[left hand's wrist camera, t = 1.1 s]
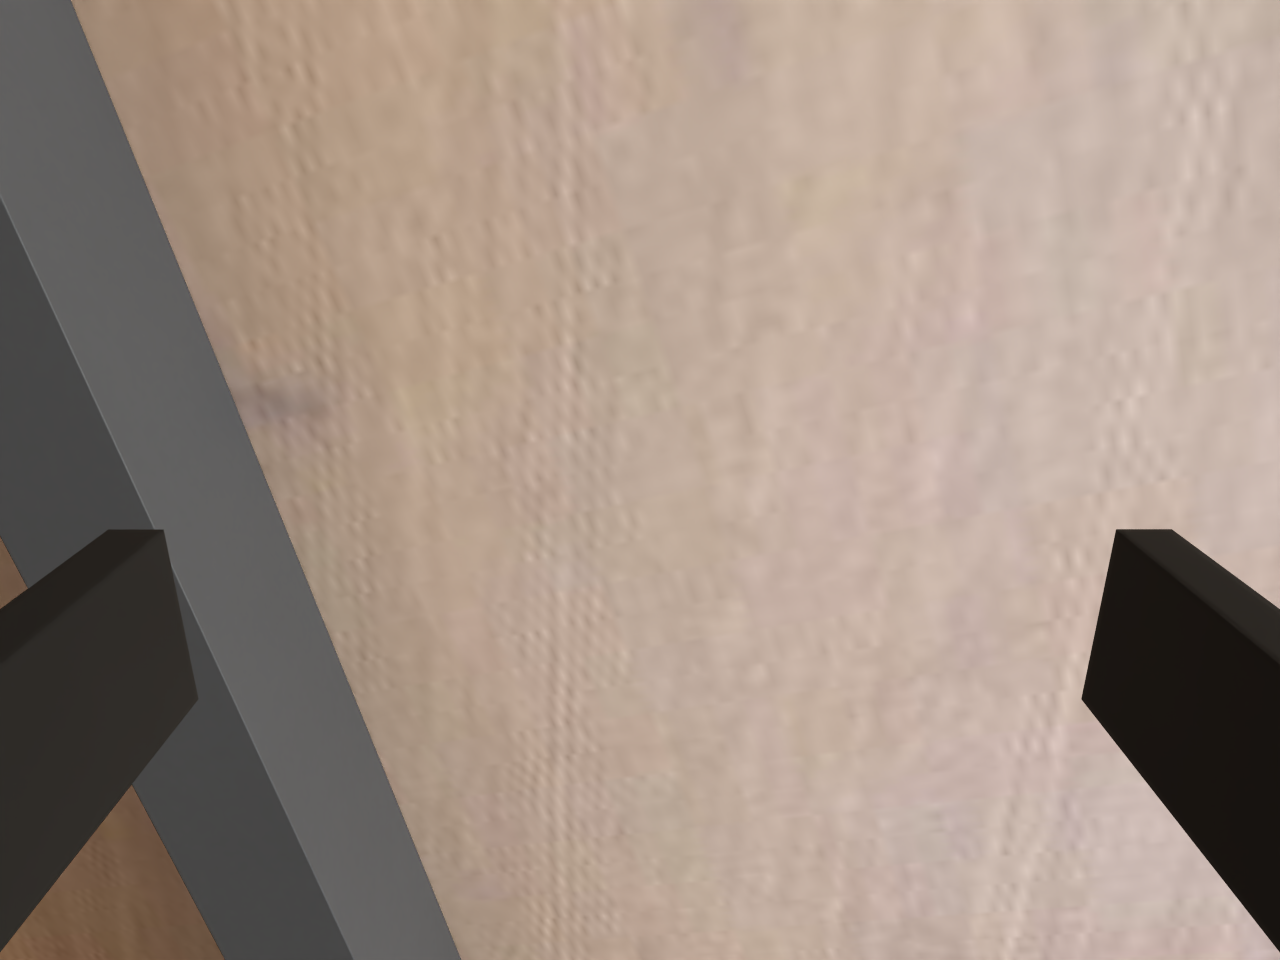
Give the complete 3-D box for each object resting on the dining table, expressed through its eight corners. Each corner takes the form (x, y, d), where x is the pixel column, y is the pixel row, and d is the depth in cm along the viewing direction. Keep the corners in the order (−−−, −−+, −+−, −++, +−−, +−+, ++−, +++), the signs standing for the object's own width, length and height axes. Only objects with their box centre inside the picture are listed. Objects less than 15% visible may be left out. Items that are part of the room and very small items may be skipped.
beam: (-211, -288, 27) (-521, -443, 20) (-65, -334, 27) (-326, -508, 19) (429, 1108, 49) (393, 1278, 41) (516, 1094, 48) (494, 1263, 41)
